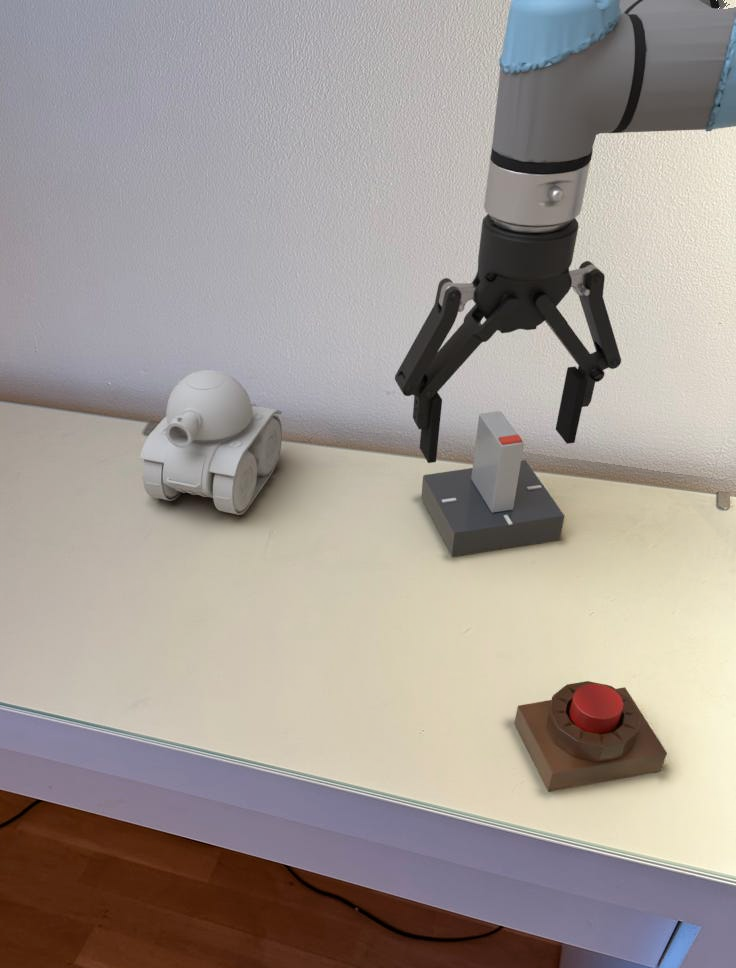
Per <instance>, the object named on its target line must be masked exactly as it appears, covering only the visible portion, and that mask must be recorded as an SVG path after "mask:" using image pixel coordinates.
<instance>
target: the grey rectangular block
mask: <svg viewBox="0 0 736 968" xmlns="http://www.w3.org/2000/svg"><path fill="white" fill-rule="evenodd" d="M476 429H477V430H476V437H475V438H476V439H475V444H474V445H475V446H474V454H473V461H472V462H473V463H472V468H473V469H472V477H471V479H472V481H473V483H474V484H475V486H476V487H477V489H478V491H479V492H480V494H481V496H482V497H483V499H484V501H485V502H486V504H487V505H488V507H489V509H490V510H491V512H492V513H494V512H501V511H507V510H513V508H514V502H515V496H516V489H517V483H518V477H519V471H520V465H521V461H522V459H523V452H524V446H525V442H524V441H523V439H522V437H521V436H520V434H519V433H517V431H516V430H515V428H514V427H513V426H512V424H511V423H510V421H509V420H508V419H507V417H506V416H505V415H504V413H503V412H502V411H501V410H497V411H490V412H482V413H479V414H478V420H477V428H476Z"/></svg>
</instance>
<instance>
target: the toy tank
mask: <svg viewBox="0 0 736 968" xmlns="http://www.w3.org/2000/svg"><path fill="white" fill-rule="evenodd" d="M165 413H166V415H165V416H164V418H163V419H162V420H161V421H160V422H159V423H158V424H157V426H155V428H154V429H153V430H152V431H151V432H150V434H149V435H148V436H147V438H146V440H145V441H144V444H143V446H142V448H141V452H140V455H139V459H140V460H143V465H142V482H143V483H142V484H143V487H144V491H145V492H146V494H147V495H148V496H149V497H151V498H156V499H160V500H164V501H170V502H172V501H175V500H176V499H177V498H179V497H180V495H182V493H183V494H185V493H187V494H190V495H193V496H196V495H198V496H201V497H203V498H206V497H207V498H212V500H213V504H214V506H215V508H216V509H217V510H218V511H219V512H222V513H228V514H232V515H238V516H242V515H243V514H245V513H246V512H247V511H248V509H249V507H250V506H251V505H252V503H253V502H254V500H255V499H256V498H257V496H258V495H259V493H260V491H261V490H262V489H263V487H264V486H265V485H266V483H267V481H268V480H269V479H270V477H271V476H272V474H273V473H274V471H275V469H276V467H277V464H278V461H279V458H280V454H281V450H282V441H283V427H282V422H281V419H280V417H279V416H278V415H281V414H282V411H281V410H280V409H277V408H276V409H275V408H271V407H270V408H269V407H264V406H259V405H258V406H257V404H256V403H253V402H251V397H250V396H249V394H248V392H247V390H246V389H245V387H244V385H243V384H242V383H240V381H238V380H237V379H236V378H235V377H233V376H232V375H230V374H228V373H226V372H224V371H221V370H215V369H203V370H197V371H195V372H192V373H190V374H188V375H186V376H185V377H184V378H182V379H181V380H180V381H179V382H177V384H176V386H174V388H173V389H172V391H171V393H170V395H169V397H168V401H167V405H166V412H165Z"/></svg>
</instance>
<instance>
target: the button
mask: <svg viewBox="0 0 736 968" xmlns="http://www.w3.org/2000/svg"><path fill="white" fill-rule="evenodd" d="M601 684H602V683H600V684H587V685H583V686H581V687H580V688H578V689H577V690H576V691H575V693H574V696H573V700H572V703H571V707H570V717H571V719H572V721H573V723H574V724H575V725H576V726H577V727H579V728H580V729H582V730H584V731H586V732H591V733H595V734H604V733H608V732H610V731H612V730H614V729H615V728H616V727H617V725H618V723H619V720H620V717H621V713H622V710H623V700H622V698H621V696H620V695H619V694H618V693H617V692H616V691H615V690H613V689H612V688H610V687H607V686H605V685H606V684H605V685H601Z"/></svg>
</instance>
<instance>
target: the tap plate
mask: <svg viewBox="0 0 736 968" xmlns="http://www.w3.org/2000/svg"><path fill="white" fill-rule="evenodd" d="M472 469H473V467H469V468H462V469H455V470H450V471H442V472H436V473H430V474H422V486H421V498H420V499H421V501H422V503H423V505H424V506H425V509H426V510H427V513H428V515H429V516H430V518H431V520H432V522H433V525H434V526H435V528H436V530H437V531H438V533H439V535H440V537H441V539H442V541H443V543H444V545H445V546H446V549H447V550H448V552H449V554H450V556H451V558H454V557H462V556H467V555H474V554H480V553H486V552H492V551H493V552H494V551H500V550H506V549H512V548H518V547H519V548H520V547H524V546H531V545H538V544H544V543H550V542H557V541H561V535H562V530H563V526H564V522H565V517H566V516H565V514H564V513H563V511H562V509H561V508H560V507H559V505H558V504H557V503H556V502H555V500H554V498H553V497H552V495H551V494H550V493H549V491H548V490H547V489H546V487H545V485H544V484H543V483H542V481H541V480H540V478H539V477H538V476H537V474H536V472H535V471H534V470H533V469H532V466H531V465H530V464H529V463H528V461H527V460H525V459H523V460H521V465H520V471H519V477H518V483H517V489H516V496H515V502H514V508H513V510H507V511H501V512H494V513H492V512H491V510H490V509H489V507H488V505H487V504H486V502H485V501H484V499H483V497H482V496H481V494H480V492H479V491H478V489H477V487H476V486H475V484H474V483H473V481H472V479H471V477H472Z"/></svg>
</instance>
